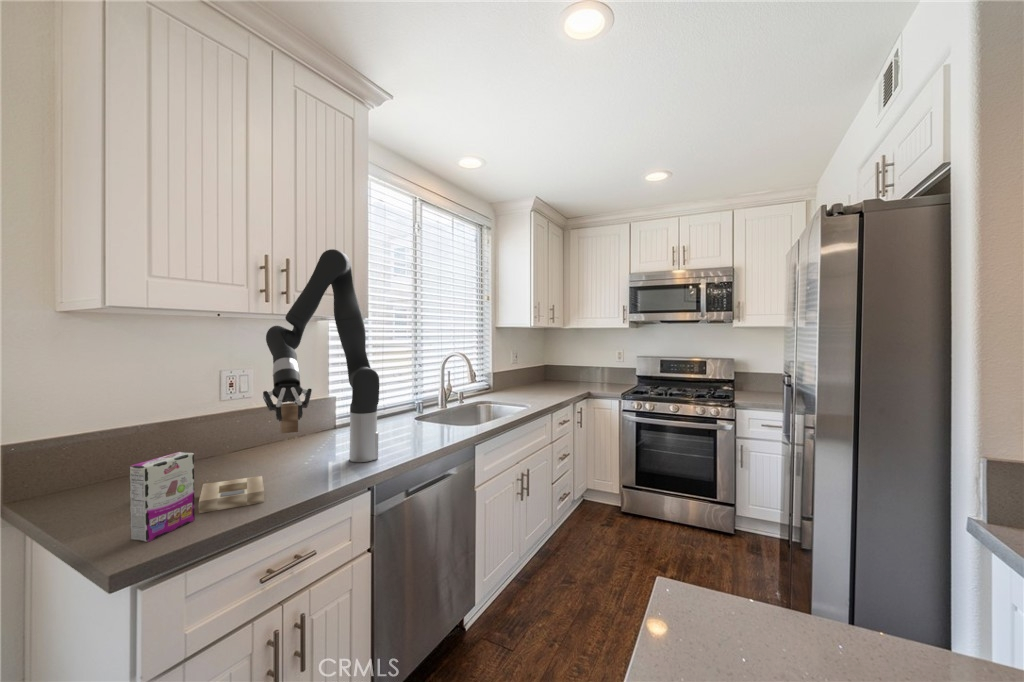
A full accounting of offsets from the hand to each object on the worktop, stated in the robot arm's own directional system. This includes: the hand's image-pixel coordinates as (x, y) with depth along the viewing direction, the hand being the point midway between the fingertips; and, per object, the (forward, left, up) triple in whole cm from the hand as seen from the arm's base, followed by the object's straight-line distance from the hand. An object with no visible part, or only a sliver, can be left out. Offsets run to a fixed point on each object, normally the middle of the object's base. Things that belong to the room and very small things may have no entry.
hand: (289, 418), depth 127 cm
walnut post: (0, -2, -4) cm, 5 cm away
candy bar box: (+27, +19, -20) cm, 39 cm away
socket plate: (+14, +5, -19) cm, 25 cm away
